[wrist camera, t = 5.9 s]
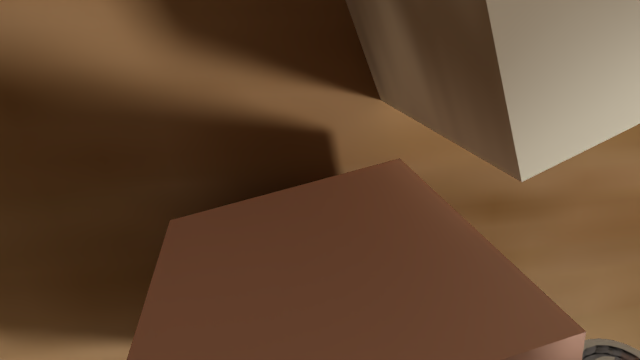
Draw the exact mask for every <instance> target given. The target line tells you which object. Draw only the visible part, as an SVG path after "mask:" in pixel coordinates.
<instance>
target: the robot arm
mask: <svg viewBox="0 0 640 360" xmlns="http://www.w3.org/2000/svg"><path fill="white" fill-rule="evenodd" d="M582 360H640V351H639V350H637V349H635V348H633V347H631V346H629V345H627V344H624V343H620V342H617V341H614V340H608V339H590V340H585V342H584V349H583V355H582Z"/></svg>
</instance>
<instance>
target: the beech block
mask: <svg viewBox="0 0 640 360" xmlns="http://www.w3.org/2000/svg"><path fill="white" fill-rule="evenodd" d="M346 3H347V6H348V9H349V12H350V14H351V17H352V20H353V23H354V26H355V29H356V31H357V34H358V37H359V40H360V43H361V45H362V48H363V51H364V54H365V57H366V60H367V62H368V65H369V68H370V71H371V74H372V76H373V79H374V82H375V85H376V88H377V91H378V93H379V96H380V99H381V100H382V101H383V102H385V103H387V104H388V105H390V106H392V107H394V108H395V109H397V110H399V111H400V112H402V113H404V114H406V115H407V116H409V117H411V118H413V119H414V120H416V121H418V122H419V123H421V124H423V125H425V126H426V127H428V128H430V129H431V130H433V131H435V132H437V133H438V134H440V135H442V136H443V137H445V138H447V139H449V140H450V141H452V142H454V143H456V144H457V145H459V146H461V147H462V148H464V149H466V150H468V151H469V152H471V153H473V154H474V155H476V156H478V157H480V158H481V159H483V160H485V161H486V162H488V163H490V164H492V165H493V166H495V167H497V168H499V169H500V170H502V171H504V172H505V173H507V174H509V175H511V176H512V177H514V178H516V179H517V180H519V181H521V182H523V181H525V180H527V179H529V178H531V177H533V176H535V175H537V174H539V173H541V172H543V171H545V170H547V169H549V168H551V167H553V166H555V165H557V164H559V163H561V162H563V161H565V160H567V159H569V158H571V157H573V156H575V155H577V154H579V153H581V152H583V151H585V150H587V149H589V148H591V147H593V146H595V145H597V144H599V143H601V142H603V141H605V140H607V139H609V138H611V137H614V136H616V135H618V134H620V133H622V132H624V131H626V130H628V129H630V128H632V127H634V126H636V125H638V124H640V0H346Z"/></svg>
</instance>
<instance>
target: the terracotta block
mask: <svg viewBox="0 0 640 360" xmlns="http://www.w3.org/2000/svg"><path fill="white" fill-rule="evenodd" d="M585 335H586V331H585V330H584V329H582V328H581V327H580V326H579V325H578V324H577V323H576V322H575V321H574V320H573V319H572V318H571V317H570V316H568V315H567V314H566V313H565V312H564V311H563V310H562V309H561V308H560V307H559V306H558V305H557V304H556V303H554V302H553V301H552V300H551V299H550V298H549V297H548V296H547V295H546V294H545V293H544V292H543V291H542V290H541V289H539V288H538V287H537V286H536V285H535V284H534V283H533V282H532V281H531V280H530V279H529V278H528V277H527V276H525V275H524V274H523V273H522V272H521V271H520V270H519V269H518V268H517V267H516V266H515V265H514V264H513V263H511V262H510V261H509V260H508V259H507V258H506V257H505V256H504V255H503V254H502V253H501V252H500V251H499V250H498V249H496V248H495V247H494V246H493V245H492V244H491V243H490V242H489V241H488V240H487V239H486V238H485V237H484V236H482V235H481V234H480V233H479V232H478V231H477V230H476V229H475V228H474V227H473V226H472V225H471V224H470V223H468V222H467V221H466V220H465V219H464V218H463V217H462V216H461V215H460V214H459V213H458V212H457V211H456V210H455V209H453V208H452V207H451V206H450V205H449V204H448V203H447V202H446V201H445V200H444V199H443V198H442V197H441V196H439V195H438V194H437V193H436V192H435V191H434V190H433V189H432V188H431V187H430V186H429V185H428V184H427V183H426V182H424V181H423V180H422V179H421V178H420V177H419V176H418V175H417V174H416V173H415V172H414V171H413V170H412V169H410V168H409V167H408V166H407V165H406V164H405V163H404V162H403V161H402V160H401V159H400V158H399V159H396V160H392V161H388V162H385V163H381V164H377V165H373V166H370V167H366V168H362V169H359V170H355V171H351V172H347V173H344V174H340V175H336V176H333V177H329V178H325V179H321V180H318V181H314V182H310V183H307V184H303V185H299V186H295V187H292V188H288V189H284V190H281V191H277V192H273V193H269V194H266V195H262V196H258V197H255V198H251V199H247V200H243V201H240V202H236V203H232V204H229V205H225V206H221V207H217V208H214V209H210V210H206V211H203V212H199V213H195V214H191V215H188V216H184V217H180V218H177V219H173V220H170V222H169V225H168V228H167V231H166V234H165V238H164V241H163V244H162V247H161V251H160V254H159V257H158V260H157V264H156V267H155V270H154V273H153V277H152V280H151V283H150V286H149V289H148V293H147V296H146V299H145V302H144V306H143V309H142V312H141V315H140V319H139V322H138V325H137V328H136V332H135V335H134V338H133V341H132V344H131V348H130V351H129V354H128V357H127V360H582V355H583V349H584V342H585Z"/></svg>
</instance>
